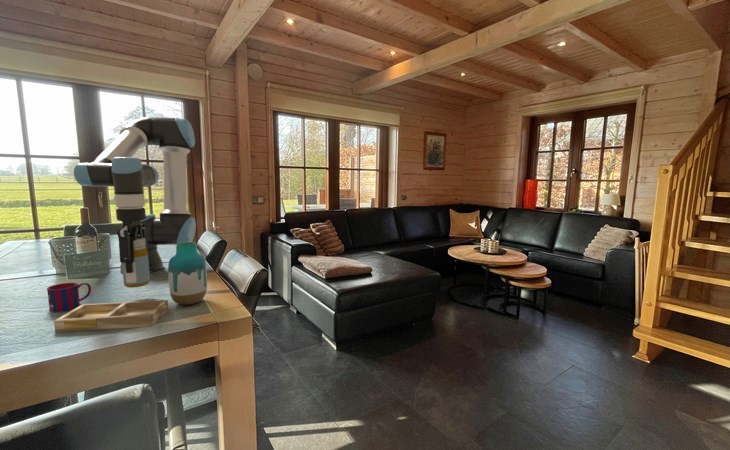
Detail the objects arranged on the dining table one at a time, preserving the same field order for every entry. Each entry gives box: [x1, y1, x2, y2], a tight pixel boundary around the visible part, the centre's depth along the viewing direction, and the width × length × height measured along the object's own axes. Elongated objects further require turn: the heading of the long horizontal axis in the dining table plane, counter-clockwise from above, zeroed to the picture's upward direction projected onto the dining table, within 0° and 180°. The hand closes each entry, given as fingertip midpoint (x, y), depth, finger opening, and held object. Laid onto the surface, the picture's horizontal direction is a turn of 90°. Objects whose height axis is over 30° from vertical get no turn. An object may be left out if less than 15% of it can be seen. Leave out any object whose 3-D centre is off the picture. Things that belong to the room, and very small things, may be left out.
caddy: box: [53, 299, 169, 333], centre depth 91 cm, size 12×22×3 cm, turn 102°
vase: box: [167, 241, 208, 306], centre depth 103 cm, size 11×11×19 cm
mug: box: [46, 282, 92, 313], centre depth 100 cm, size 7×10×7 cm
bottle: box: [122, 237, 151, 289], centre depth 106 cm, size 7×7×15 cm
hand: (136, 278), depth 107 cm, fingers closed on bottle, 6 cm apart
